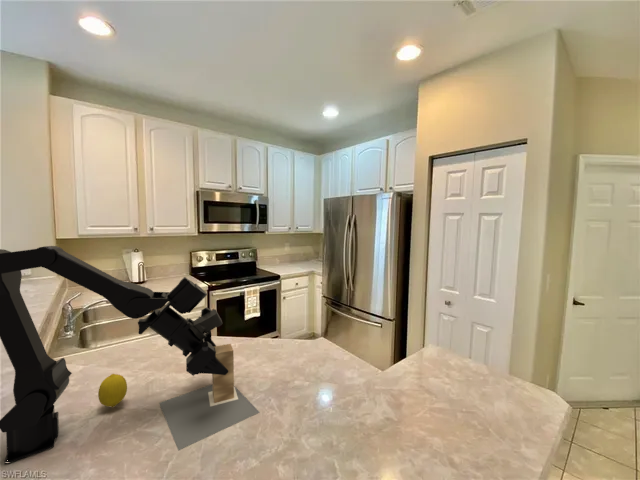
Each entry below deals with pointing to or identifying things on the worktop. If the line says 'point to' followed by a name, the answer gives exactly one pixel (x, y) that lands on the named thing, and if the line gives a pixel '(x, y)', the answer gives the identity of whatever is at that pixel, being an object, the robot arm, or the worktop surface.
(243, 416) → the mat
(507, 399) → the worktop surface
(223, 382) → the oak block
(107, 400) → the lemon
